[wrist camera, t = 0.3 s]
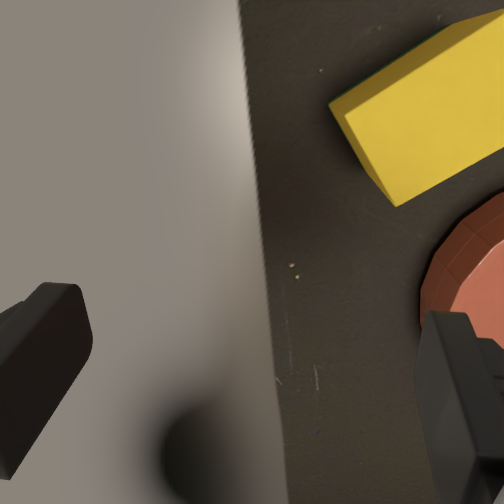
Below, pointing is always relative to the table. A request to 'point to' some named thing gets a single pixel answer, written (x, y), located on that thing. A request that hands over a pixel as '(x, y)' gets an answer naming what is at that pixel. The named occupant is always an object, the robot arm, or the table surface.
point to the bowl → (471, 272)
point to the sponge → (429, 108)
